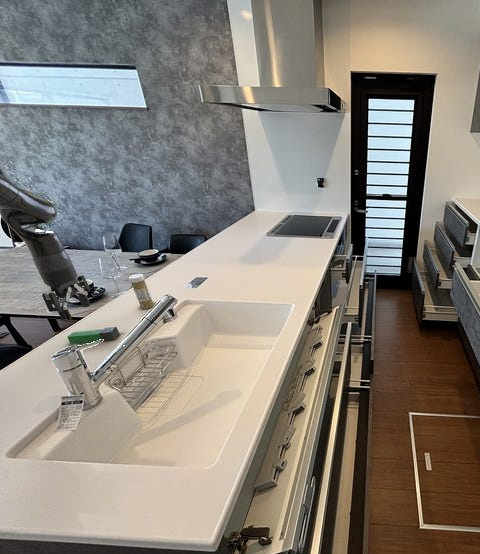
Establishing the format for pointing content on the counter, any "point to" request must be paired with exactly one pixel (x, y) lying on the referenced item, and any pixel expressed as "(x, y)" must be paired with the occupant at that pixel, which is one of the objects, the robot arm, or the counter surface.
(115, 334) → the marker
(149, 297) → the sprinkles bottle
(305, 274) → the counter surface
